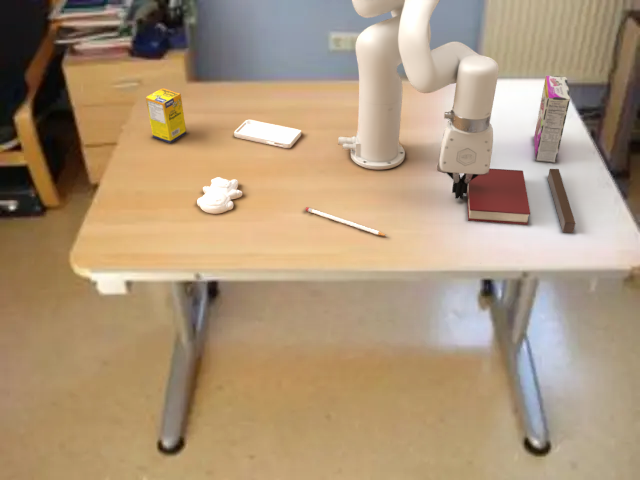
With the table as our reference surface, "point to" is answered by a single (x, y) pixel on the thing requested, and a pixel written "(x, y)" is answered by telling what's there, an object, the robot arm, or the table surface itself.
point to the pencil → (345, 221)
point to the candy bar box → (551, 118)
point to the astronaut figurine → (219, 196)
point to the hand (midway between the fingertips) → (458, 195)
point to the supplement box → (166, 115)
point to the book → (498, 197)
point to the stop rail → (561, 201)
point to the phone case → (268, 133)
